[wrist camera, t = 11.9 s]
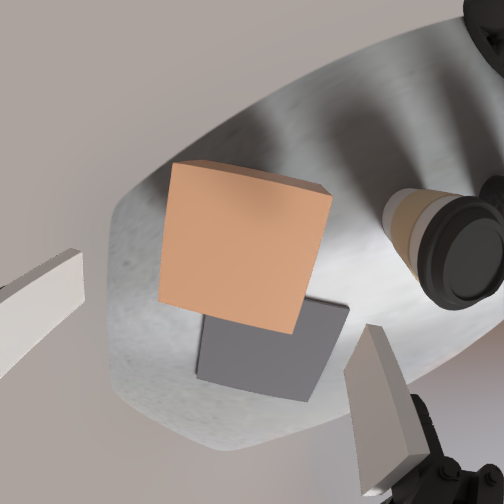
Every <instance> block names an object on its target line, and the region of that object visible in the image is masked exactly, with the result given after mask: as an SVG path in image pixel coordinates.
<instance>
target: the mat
mask: <svg viewBox="0 0 504 504" xmlns="http://www.w3.org/2000/svg"><path fill="white" fill-rule="evenodd" d="M349 311H350V309H349V307H344V306H340V305H335V304H330V303H326V302H321V301H316V300H312V299H307V298H304V300H303V303H302V306H301V309H300V312H299V315H298V318H297V321H296V324H295V327H294V330H293V333H292V334H287V333H282V332H277V331H273V330H268V329H263V328H259V327H255V326H250V325H246V324H242V323H238V322H233V321H229V320H225V319H221V318H217V317H213V316H210V315H205V322H204V329H203V335H202V342H201V349H200V356H199V364H198V371H197V379H201V380H204V381H208V382H212V383H216V384H220V385H224V386H228V387H232V388H236V389H240V390H245V391H249V392H254V393H259V394H264V395H269V396H274V397H279V398H285V399H291V400H297V401H303V402H308V400H309V398H310V396H311V394H312V392H313V390H314V388H315V386H316V384H317V382H318V380H319V378H320V376H321V374H322V372H323V370H324V368H325V366H326V364H327V362H328V359H329V357H330V355H331V353H332V351H333V348H334V346H335V344H336V342H337V339H338V337H339V335H340V332H341V330H342V328H343V325H344V323H345V321H346V318H347V316H348V313H349Z"/></svg>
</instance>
